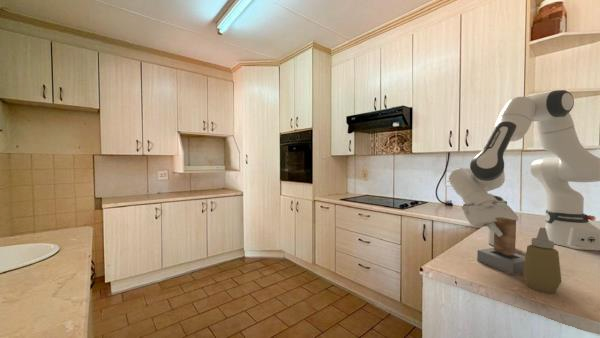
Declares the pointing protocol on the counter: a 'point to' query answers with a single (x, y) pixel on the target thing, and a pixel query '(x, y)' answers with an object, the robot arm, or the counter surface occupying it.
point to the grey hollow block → (502, 260)
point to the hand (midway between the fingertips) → (506, 235)
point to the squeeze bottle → (542, 264)
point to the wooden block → (505, 236)
